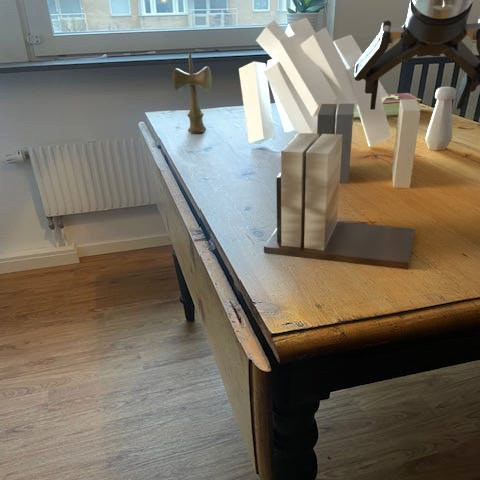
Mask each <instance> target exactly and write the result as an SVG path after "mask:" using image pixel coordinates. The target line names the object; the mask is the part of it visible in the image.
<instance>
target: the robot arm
mask: <svg viewBox="0 0 480 480" xmlns="http://www.w3.org/2000/svg"><path fill="white" fill-rule="evenodd" d="M473 3H474V0H410V1H409V5H408V6H409V7H408V11H407V17H406V21H405V23H404V24H403V25H402V26H392V22H391V21H390V20H384V21H383V22H382V24H381V28H380V30H379V33H378V35H376V37H375V38H374V39H373V41H372V42H371V44H370V45H368V47H367V48H366V50H365V51H364V52H363V55H362V56H361V57H360V59H359V60H358V61H357V63H356V64H355V75H354V79H355V80H356V81H360V80H362V79H364V80H365V81H366V83H365V93H366V94H371V106H370V110H375V105H376V97H377V90H378V80H379V79H380V78H381V77H383V76H384V75H385V74H387V73H388V72H389V71H391V70H393V69H394V68H396V67H397V66H398V65H400V64H402V63H403V62H404V63H406V62H408V61H409V60H411V59H413V58H414V57H418V58H419V57H420V58H422V57H427V56H430V57H440V56H441V55H444V56H445V57H446V58H447V59H448V60H449V61H450V62H451V61H453V62H454V63H455V64H456V65H457V66H458V67H459V68H460V69H461V70H462V71H463V72H464V74H463V76H462V79H461V82H460V84H459V87H458V90H457V91H456V110H462V108H463V106H464V103H465V101H466V98H467V96H468V93H474V92H475V91H476V89H477V88H478V86H480V58H478V57H477V56H476V54H475V53H473V52H472V50H471V49H470V48H469V47H468V46H467V44H465V43H464V42H463V40H464V39H465V38H466V37H467V36H468V37H469V38H470V40H472V43H473V44H476V45H475V46H476V50H477V51H476V52H477V53H478V56H479V57H480V18H478V22H475V23H473V22H472V23H467V22H468V19H469V16H470V13H471V10H472V7H473ZM397 39H399V40H398V42H397V43H396V44H394V45H393V43H395V41H396V40H397ZM389 47H391V48H389ZM379 81H380V80H379Z"/></svg>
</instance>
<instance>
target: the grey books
mask: <svg viewBox="0 0 480 480" xmlns="http://www.w3.org/2000/svg"><path fill="white" fill-rule="evenodd" d="M336 107H337V104H322V105H321V107H320V110H319V113H318V119H317V129H316V134H319V137H320V136H321V135H322V134H342V135H343V136H342V153H341V169H340V184H345V185H346V184H349V179H350V171H351V170H350V169H351V156H352V144H353V142H352V141H353V131H354V130H353V128H354V119H353V116H354V104H339V107H338V111H337V117H336ZM335 126H336V128H335Z"/></svg>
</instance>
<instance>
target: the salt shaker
mask: <svg viewBox="0 0 480 480" xmlns="http://www.w3.org/2000/svg"><path fill="white" fill-rule="evenodd" d="M456 97H457V89H456V88H455V87H452V86H440V87H438V88H437V89H436V90H435V94H434V98H435V99H436V103H435V106H434V109H433V112H432V115H431V118H430V121H429V123H428V124H429V125H428V128H427V131H426V134H425V142H426V147H427V149H428V150H431V151H436V152H437V151H445V150H446V149H447V147H448V146H449V145H450V143H451V141H452V140H453V100H454V99H456Z"/></svg>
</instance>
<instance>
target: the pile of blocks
mask: <svg viewBox="0 0 480 480" xmlns="http://www.w3.org/2000/svg"><path fill="white" fill-rule="evenodd" d="M255 42H256V43H257V44H258V45H259V46H260V48H262V49H263V50H264V51H265V53H267V55H268V56H269V57H270V58H271V59H268V60H267V63H265V62H260V61H251V62H250V63H247V64H245V65H243V66H242V67H239V68H238V73H239V82H240V88H241V95H242V96H241V97H242V103H243V110H244V111H243V112H244V118H245V125H246V132H247V139H248V144H250V145H251V144H255V145H257V144H258V145H260V144H263V143H268V142H270V141H273V140H276V135H275V129H274V119H273V112H272V105H271V96H270V89H271V93H272V96H273V99H274V102H275V105H276V108H277V109H276V110H277V111H278V115H279V117H280V121H281V124H282V127H283V128H282V129H283V131H284V133H285V132H287V133H290V132H294V131H295V133H296V136H297V135H298V134H299V133H313V134H314V132H315V131H317V119H318V113H319V110H320V107H321V105H322V104H337V107H336V117H337V111H338V107H339V104H354V107H355V106H357V109H358V112H359V115H360V119H359V120H360V121H361V125H362V129H363V132H364V136H365V139H366V142H367V145H368V147H373V146H376V145H378V144H381V143H383V142H385V141H388V140H391V139H393V136H392V132H391V129H390V125H389V121H388V117H386V114H385V110H384V106H383V101H384V100H385V99H386V97H387V96H388V94H389V93H387V91H386V89H385V88H384V86H383V84H382V82H380V80H378V90H377V97H376V105H375V110H370V106H371V94H366V93H365V83H366V81H365V80H364V79H362V80H360V81H356V80H355V79H354V75H355V64H356V63H357V61H358V60H359V59H360V57H361V56H362V55H363V54H364V52H362V50H361V48H360V46H359V45H358V43H357V42H356V40H355V39H354V37H353V35H352V34H348V35H345V36H342V37H340V38H338V39H335V40H333V39H332V37H331V35H330V34H329V31H328V29H327V27H326V26H325V27H323V28H321V29H320V30H318V31H317V32H316V31H315V29H314V27H313V26H312V24H311V22H310V21H309V20H308V18H307V17H304V18H301V19H298V20H296V21H293V22H290V23H288V25H287V27H286V29H285V30H284V29H283V28H282V27H281V26H280V25H279V23H278V22H276V21H275V20H272V21H271V22H270V23H269V24H267V25H266V26H265V27H264V28H263V30H262V31H261V32H260V34H259V35H258V37H257V38H256V39H255ZM269 87H270V89H269ZM335 129H336V126H335Z"/></svg>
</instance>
